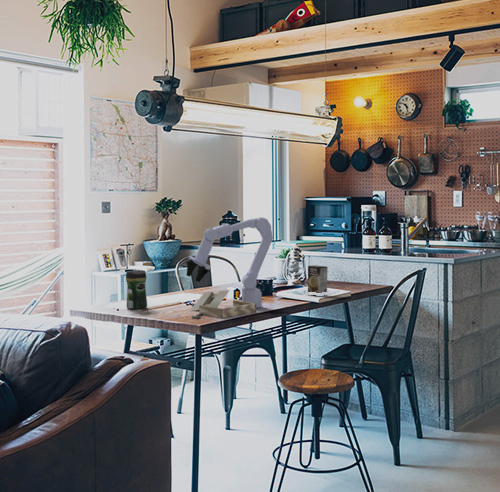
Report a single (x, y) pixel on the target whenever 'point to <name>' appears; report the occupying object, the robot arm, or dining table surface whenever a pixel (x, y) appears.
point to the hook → (197, 316)
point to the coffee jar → (136, 289)
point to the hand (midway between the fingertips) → (192, 278)
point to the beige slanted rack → (210, 299)
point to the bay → (229, 309)
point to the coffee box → (317, 279)
